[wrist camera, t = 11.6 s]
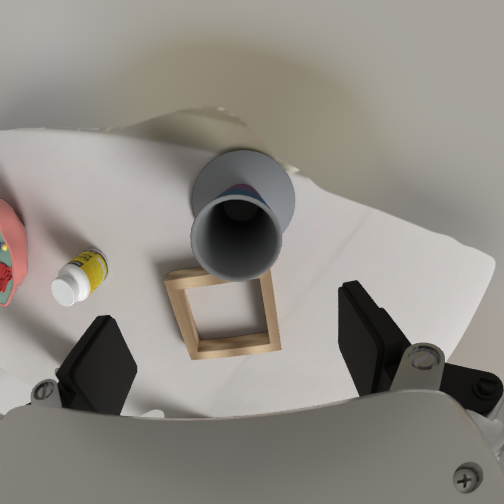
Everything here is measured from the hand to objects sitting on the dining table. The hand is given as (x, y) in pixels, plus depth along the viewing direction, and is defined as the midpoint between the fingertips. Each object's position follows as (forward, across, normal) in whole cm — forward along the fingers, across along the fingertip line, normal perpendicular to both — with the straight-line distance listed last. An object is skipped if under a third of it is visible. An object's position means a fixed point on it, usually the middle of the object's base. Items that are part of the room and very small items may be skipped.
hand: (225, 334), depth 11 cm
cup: (+26, 0, 0) cm, 26 cm away
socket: (+26, +4, +14) cm, 30 cm away
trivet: (+26, -1, -1) cm, 26 cm away
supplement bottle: (+27, +23, +4) cm, 36 cm away
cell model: (+27, +41, -4) cm, 49 cm away
